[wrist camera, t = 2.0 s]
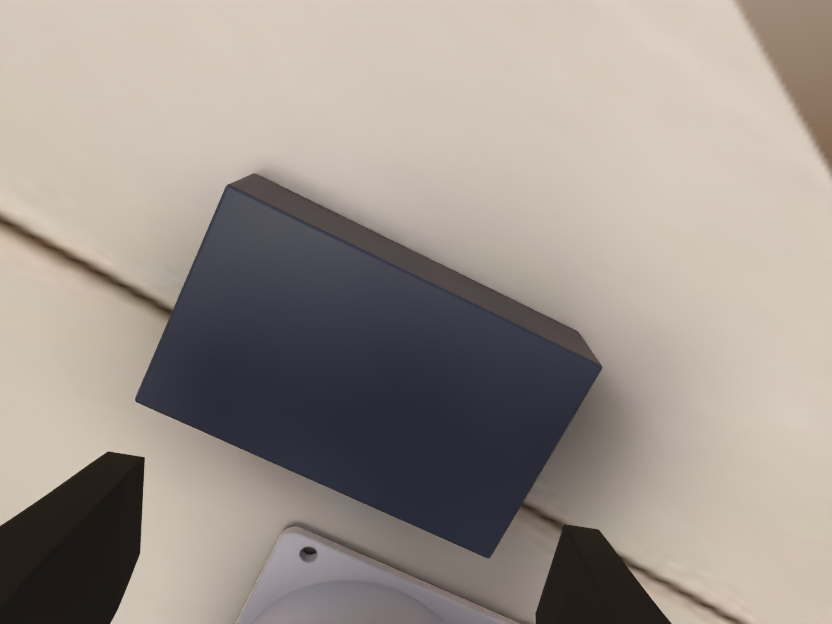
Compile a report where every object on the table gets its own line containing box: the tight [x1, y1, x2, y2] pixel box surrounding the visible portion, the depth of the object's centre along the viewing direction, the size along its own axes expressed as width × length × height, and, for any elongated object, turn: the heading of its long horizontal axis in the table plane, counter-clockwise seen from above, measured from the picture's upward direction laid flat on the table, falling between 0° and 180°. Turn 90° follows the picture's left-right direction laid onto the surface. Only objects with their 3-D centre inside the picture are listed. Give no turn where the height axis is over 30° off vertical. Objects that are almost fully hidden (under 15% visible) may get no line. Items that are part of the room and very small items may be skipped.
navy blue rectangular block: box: [135, 174, 602, 558], centre depth 20 cm, size 10×6×3 cm, turn 64°
